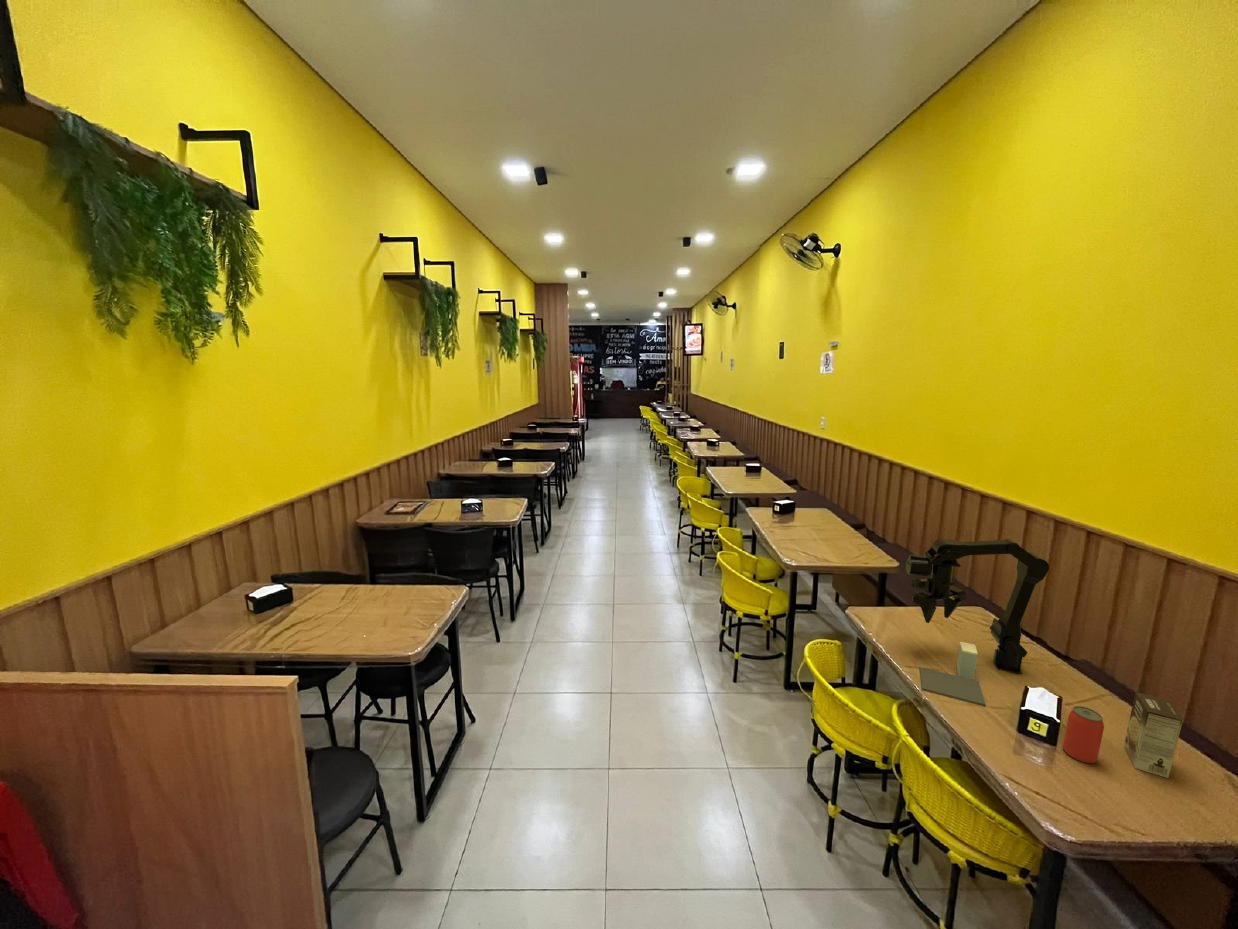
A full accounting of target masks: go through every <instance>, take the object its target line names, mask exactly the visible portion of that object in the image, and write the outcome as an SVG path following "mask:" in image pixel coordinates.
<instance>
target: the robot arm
mask: <svg viewBox="0 0 1238 929" xmlns="http://www.w3.org/2000/svg"><path fill="white" fill-rule="evenodd" d="M989 555H1011V556H1012V557H1014V558H1015V559H1017V563H1016V564H1017V565H1016V572H1017V579H1016V581H1015V584H1014V587H1013V589H1012V592H1011V595H1010V597H1009V600H1008V602H1007V605H1006V608H1005V610H1004V613H1003V615H1002V616H1001V617H1000V618H995V617H994V618H993V619H992V624H991V625H990V626H989V630H990V634H991V636H992V637H993V639H994V640H995V641H996V643H997V648H996V649H994V653H993V660H992V661H993V663H994V664H995V666H996V669H999V670H1002V671H1006V672H1011V673H1016V674H1019V675H1020V674H1021V675H1022V673H1023V672H1022V670H1021V667H1022V662H1023V658H1026V656H1027V654H1028V651H1027V650H1026V649H1025V648H1024V647H1023V646H1022V644H1021V639H1022V630H1021V623H1022V621H1023V618H1024V616H1025V613H1026V611H1027V608H1028V605H1029V603H1030V601H1031V597H1032V595H1033V592H1034V590H1035V587H1036V586H1037V585H1038V584H1039V583H1040V582H1041V581H1043V580H1045V577H1046V576H1047V574H1048V573H1049V571H1050V566H1051V565H1050V564H1049V563H1048V561H1046V560H1045V559H1044V558H1042V557H1041V556H1039V555H1037V554H1036V553H1034V552H1028V551H1027V550H1026V549H1024V548H1022V546H1020V544H1018V543H1017V542H1016V541H1014V540H1013V539H1010V538H1008V539H1007V538H1006V539H1001V540H1000V539H999V540H998V539H995V540H977V541H976V540H974V541H961V540H956V539H949V538H937V539H935V541H934V542H933V543H932V545H931V547H930V548H929V549H928V550H926V551H925V552H924V555H920V554H919V555H918V554H911V553H910V554H908V558H907V559H906V562H905V570H906V574H907V575H912V576H913V575H914V576H922V577H923V576H924V577H927V578H921V579H920V578H912V579H911V584H910V586H911V587H912V588H913V589H915V591H919V590H920V591H924V592H925V593H924V592H919V593H918V592H917V593H915V594H913V595H912V599H911V600H912V602H913V603H915V604H916V605H917V606H919V607H920V610H921V611H922V614H923V618H924V622H925V623H926V624H929V623H930V622H931V620H932V618H933V616H934V615H935V612H936V610H937V607H936V606H937V604H938V601H942V600H943V614H944V615H943V616H944V618H946V619H949V618H950V616H951V615H952V614H953V613H954V612H955V610H956V608H958V607H959V606H960V604H962V603H963V601H965V600H966V599H967V593H966V591H965V590H963V589H961V588H958V587H955V586H954V585H955V581H953V580H952V579H953V569H954V567H957V568H960V567H961V564H960V563H959V561H957V560H959V559H963V558H964V557H968V556H989ZM928 576H930V577H928ZM929 594H930V595H929Z"/></svg>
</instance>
